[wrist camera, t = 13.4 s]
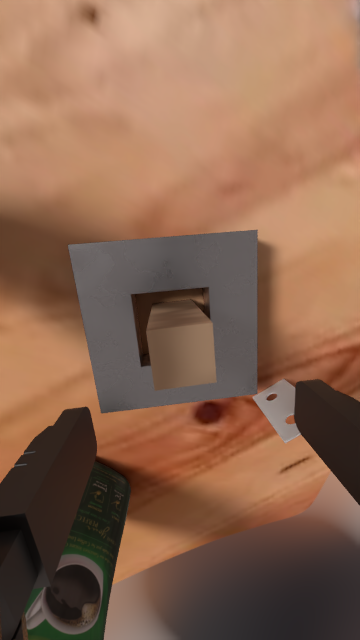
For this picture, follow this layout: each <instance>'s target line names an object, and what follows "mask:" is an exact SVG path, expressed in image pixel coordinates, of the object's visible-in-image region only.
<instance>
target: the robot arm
mask: <svg viewBox="0 0 360 640" xmlns="http://www.w3.org/2000/svg"><path fill="white" fill-rule="evenodd" d="M294 419H295V423H296V426H297V428H298V430H299V432H300V433H301V435H302V436H303V437H304V438H305V440H306V441H307V442H308V443H309V444H310V446H311V447H312V448H313V449H314V451H315V452H316V453H317V454H318V455H319V457H320V458H321V459H322V460H323V461H324V463H325V464H326V465H327V466H328V468H329V469H330V470H331V471H332V472H333V474H334V475H335V476H336V477H337V478H338V480H339V481H340V482H341V483H342V485H343V486H344V487H345V488H346V489H347V491H348V492H349V493H350V494H351V496H352V497H353V498H354V499H355V500H356V502H357V503H358V504H359V505H360V402H359V401H357V400H356V399H354V398H352V397H350V396H348V395H345V394H343V393H341V392H339V391H336V390H334V389H333V388H331V387H330V386H329V385H327V384H326V383H324V382H323V381H322V380H319V379H315V380H307V381H299V382H297V384H296V388H295V407H294ZM96 453H97V441H96V436H95V432H94V427H93V423H92V418H91V414H90V410H89V408H88V407H81V408H73V409H66V410H64V411H63V412H62V414H61V415H60V417H59V418H58V420H57V421H56V423H55V424H54V425H53V426H48V427H47V428H46V429H45V430H44V431H42V432H41V433H40V434H39V435H38V436H36V437H35V438H34V439H33V441H32V442H31V443H30V445H29V446H28V447H27V449H26V450H25V451H24V454H23V455H21V457H20V458H19V459H18V461H17V462H16V463H15V466H14V468H12V469H11V470H10V471H9V473H8V474H7V475H6V477H5V478H4V479H3V481H2V482H1V483H0V640H28V633H27V625H26V617H25V613H24V609H25V607H26V604H27V602H28V599H29V597H30V595H31V592H32V590H33V589H37V588H43V587H49V586H51V584H52V582H53V579H54V576H55V573H56V570H57V567H58V565H59V562H60V559H61V556H62V553H63V550H64V547H65V545H66V542H67V539H68V536H69V533H70V530H71V527H72V525H73V522H74V519H75V516H76V513H77V510H78V508H79V505H80V502H81V499H82V496H83V493H84V490H85V488H86V485H87V482H88V479H89V476H90V473H91V471H92V468H93V465H94V462H95V459H96Z"/></svg>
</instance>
